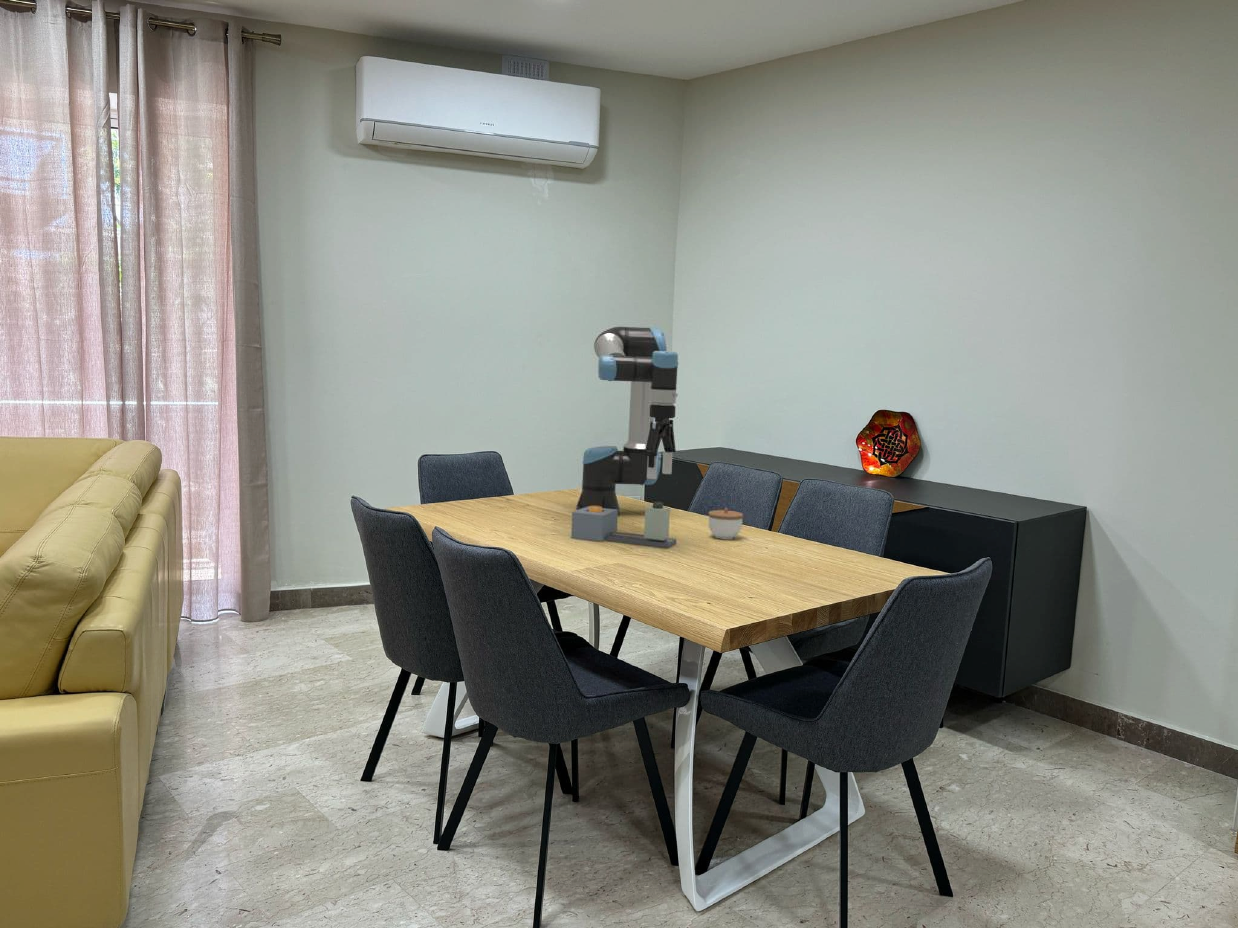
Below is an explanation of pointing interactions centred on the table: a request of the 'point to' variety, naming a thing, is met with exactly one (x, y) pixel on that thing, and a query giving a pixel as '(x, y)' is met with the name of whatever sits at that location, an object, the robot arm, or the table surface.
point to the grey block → (594, 524)
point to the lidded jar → (725, 523)
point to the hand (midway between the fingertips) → (659, 476)
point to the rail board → (640, 540)
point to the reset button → (595, 509)
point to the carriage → (657, 521)
